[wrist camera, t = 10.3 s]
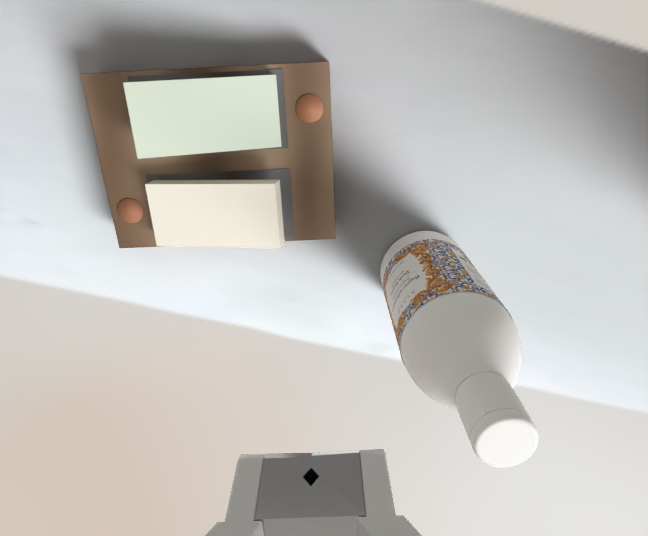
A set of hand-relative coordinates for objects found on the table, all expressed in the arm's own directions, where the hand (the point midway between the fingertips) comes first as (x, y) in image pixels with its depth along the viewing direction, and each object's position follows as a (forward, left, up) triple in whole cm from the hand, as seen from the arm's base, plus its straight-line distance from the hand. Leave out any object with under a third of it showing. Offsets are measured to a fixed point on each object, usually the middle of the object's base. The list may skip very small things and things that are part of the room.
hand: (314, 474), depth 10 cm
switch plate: (+7, -2, -29) cm, 30 cm away
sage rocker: (+7, -5, -25) cm, 26 cm away
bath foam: (-8, +8, -29) cm, 31 cm away
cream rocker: (+7, +1, -25) cm, 26 cm away
